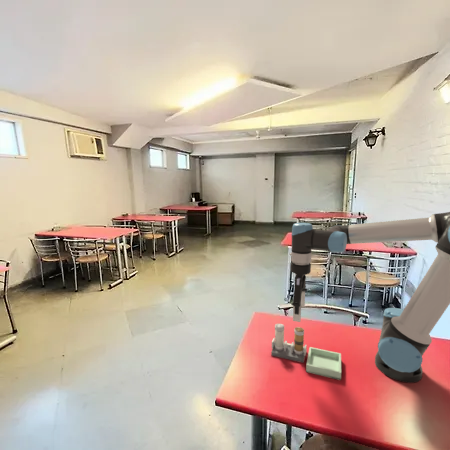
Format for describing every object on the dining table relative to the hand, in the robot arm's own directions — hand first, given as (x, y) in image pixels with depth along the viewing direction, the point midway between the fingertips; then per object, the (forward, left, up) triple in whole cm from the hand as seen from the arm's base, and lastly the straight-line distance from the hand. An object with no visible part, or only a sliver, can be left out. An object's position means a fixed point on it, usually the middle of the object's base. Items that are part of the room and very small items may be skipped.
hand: (299, 313), depth 107 cm
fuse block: (+4, 0, -19) cm, 19 cm away
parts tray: (-10, +3, -19) cm, 21 cm away
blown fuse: (0, 0, -17) cm, 17 cm away
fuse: (+8, 0, -17) cm, 19 cm away
